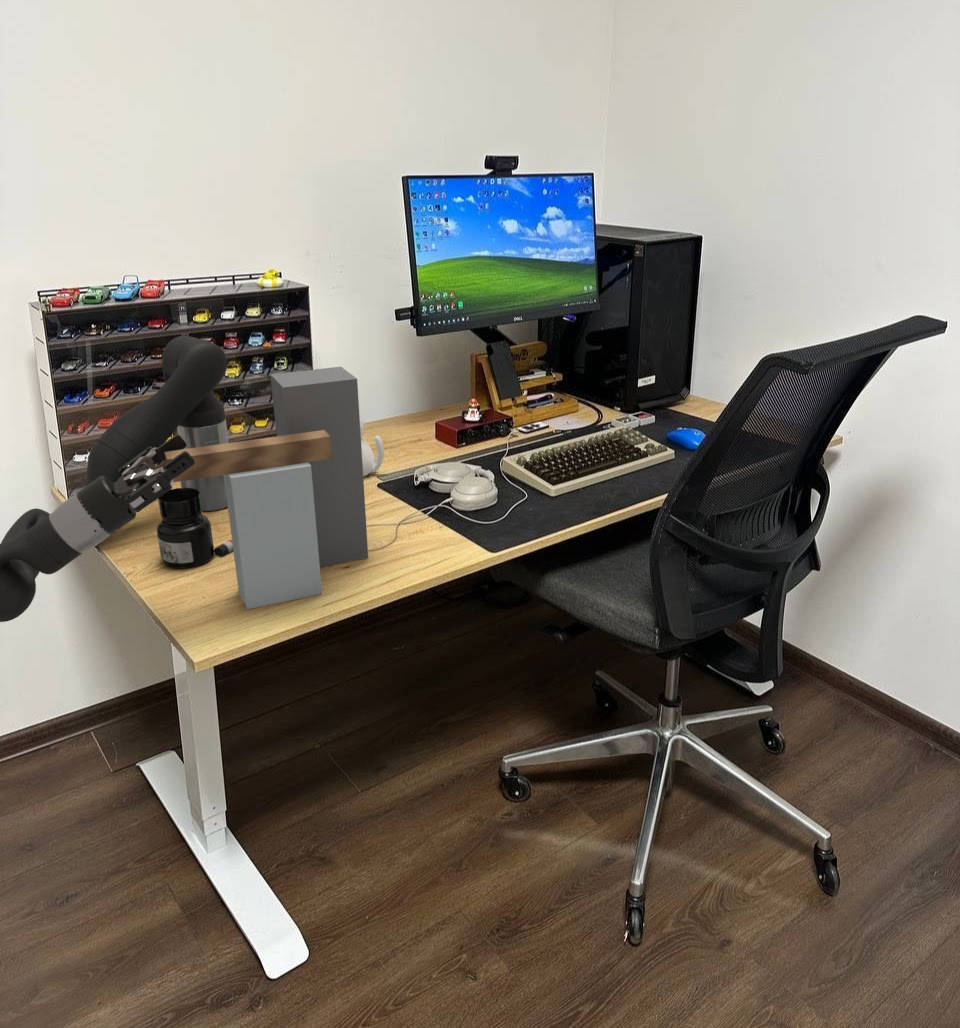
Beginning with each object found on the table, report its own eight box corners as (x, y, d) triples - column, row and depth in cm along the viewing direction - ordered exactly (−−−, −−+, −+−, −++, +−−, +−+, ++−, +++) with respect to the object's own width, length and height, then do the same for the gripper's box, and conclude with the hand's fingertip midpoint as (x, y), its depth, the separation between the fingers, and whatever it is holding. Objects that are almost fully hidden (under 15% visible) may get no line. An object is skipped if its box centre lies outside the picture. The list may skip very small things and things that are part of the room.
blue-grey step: (247, 609, 139) (230, 478, 130) (238, 590, 145) (222, 463, 136) (322, 593, 143) (311, 465, 135) (310, 575, 149) (299, 452, 141)
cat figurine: (337, 465, 199) (331, 400, 193) (391, 467, 197) (387, 402, 191) (324, 479, 191) (317, 412, 185) (380, 482, 189) (375, 414, 183)
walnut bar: (170, 482, 128) (167, 459, 127) (167, 474, 131) (164, 452, 130) (332, 458, 138) (330, 436, 136) (325, 451, 141) (324, 429, 139)
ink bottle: (150, 559, 156) (139, 495, 151) (194, 542, 162) (185, 481, 157) (182, 575, 150) (172, 509, 145) (226, 557, 156) (217, 494, 151)
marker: (223, 558, 156) (222, 548, 155) (214, 556, 157) (213, 546, 156) (279, 526, 169) (278, 517, 168) (270, 524, 170) (269, 515, 169)
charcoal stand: (300, 570, 151) (283, 387, 138) (288, 550, 158) (270, 374, 146) (368, 557, 156) (357, 378, 143) (352, 538, 163) (341, 366, 150)
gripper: (107, 515, 135) (196, 452, 137) (114, 552, 123) (210, 482, 125) (73, 479, 131) (164, 414, 133) (76, 513, 119) (176, 442, 121)
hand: (186, 447), depth 129 cm, fingers open, 8 cm apart
